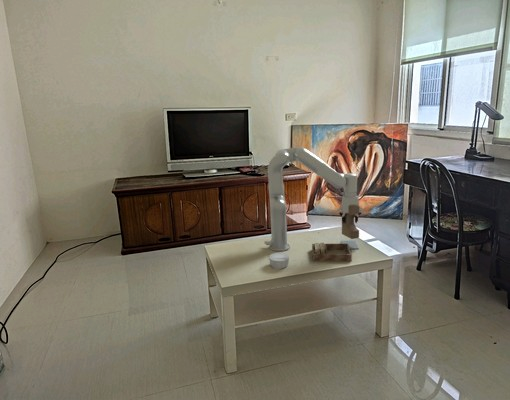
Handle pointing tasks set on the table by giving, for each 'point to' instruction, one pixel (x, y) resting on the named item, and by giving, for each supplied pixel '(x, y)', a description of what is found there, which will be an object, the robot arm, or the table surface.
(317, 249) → the offcut
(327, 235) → the table surface
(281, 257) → the ramekin
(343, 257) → the rack
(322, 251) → the offcut
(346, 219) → the decorative block
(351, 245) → the mat
